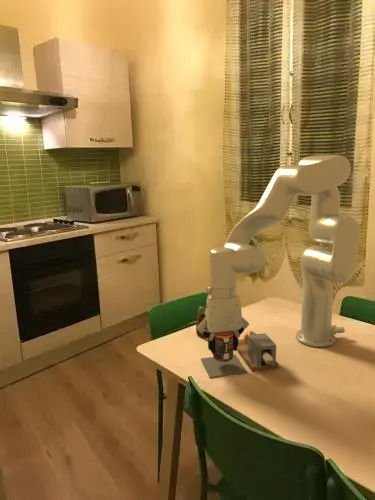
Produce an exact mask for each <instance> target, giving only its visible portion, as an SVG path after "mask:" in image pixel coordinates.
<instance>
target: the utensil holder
mask: <svg viewBox="0 0 375 500" xmlns="http://www.w3.org/2000/svg"><path fill="white" fill-rule="evenodd" d="M202 311H203V312H202ZM204 318H205V308H204V306H201V305H200V306H199V307H198V310H197V315H196V322H195V333H196V335H197V336H198V337H199V338H206V337H205V336H204V335H203V334H202V333H200V332H199V331H198V330H197V326H198V325H199V324H200V323H201V322H202V321H203V320H204ZM203 329H204V330H206V331H207V332H208V329H207V327H206V326H205V327H204V328H203ZM206 339H207V338H206Z"/></svg>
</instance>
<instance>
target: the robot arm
mask: <svg viewBox="0 0 375 500" xmlns="http://www.w3.org/2000/svg"><path fill="white" fill-rule="evenodd" d="M351 171H352V166H351V162H350V161H349V159H348V158H347V157H345V156H343V155H338V154H329V155H328V154H325V155H322V154H321V155H309V156H305V157H302V158H301V159H300V160H299V161H298V163H297V164H286V165H282V166H280V167H278V168H277V169H276V170H275V172H274V173H273V176H272V177H271V179H270V181H269V183H268V185H267V186H266V188H265V190H264V192H263V194H262V195H261V197H260V199H259V201H258V202H257V204H256V206H255V208H254V209H253V210H251V211H249V213H247V214H246V215H245V216H244V217H243V218H242V219H240V220H239V221H238V222H237V223H236V225H235V226H234V227H233V228H232V230H231V231H230V233H229V235H228V237H227V238H226V240H225V243H224V245H223V246H219V247H215V248H212V249H210V251H209V259H208V260H209V262H208V263H209V264H208V265H209V266H208V267H209V268H208V269H209V270H208V271H209V285H208V287H207V288H204V293H205V294H208V295H207V298H206V301H205V308H204V311H205V312H204V313H205V318H204V320H203V321H202V322H201V323H200V324H199V325H198V326H197V330H198V331H199V332H200V333H202V334H203V335H204V336H205V337H206V339H207V348H208V350H209V351H210V353H212V355H213V354H214V353H215V341H214V339H213V338H214V335H215V333H219V332H229V331H233V352H238V351H237V347H238V340H239V338H240V336H241V335H242V334H243V332H245V330H246V329H247V328H248V326H249V325H250V323H249V322H248V321H247V320H246V318H244V316H243V313H242V305H241V298H240V295H239V294H237V274H253V273H254V274H255V273H257V272H259V271H260V270H261V269H263V267H264V266H265V263H266V255H265V253H264V251H263V250H261V249H260V248H258V247H256V246H253V245H251V244H249V243H250V241H251V240H252V239H253V238H254V237H255V236H256V235H257V234H258V233H260V232H261V231H263V230H265V229H269V228H271V227H274V226H276V225H278V224H280V223H281V222H283V220H284V218H285V216H286V215H287V213H288V211H289V209H290V207H291V205H292V203H293V201H294V200H295V197H297V196H302V197H304V196H306V197H308V196H311V197H310V198H311V202H310V204H311V205H310V213H309V222H308V235H309V237H310V239H311V240H313V241H315V242H318V243H322V244H326V245H330V246H332V248H330V247H325V246H321V245H313V246H309V247H307V248H305V249H304V250H303V252H302V253H301V255H300V261H299V262H300V269H301V275H302V294H301V296H302V297H301V324H300V325H301V326H300V330H298V331H296V333H295V338H296V340H297V341H298V342H299V343H301V344H304V345H306V346H309V347H314V348H315V347H317V348H326V346H327V347H329V346H330V345H331V346H332V345H334V344H335V343H336V342H337V341H336V340H337V339H336V336H335V335H336V334H342V333H345V331H346V329H345V327H344V326H337V325H336V324H335V325H333V324H332V320H333V305H334V304H333V300H334V286H333V282H334V283H338V284H344V283H347V282H349V281H350V280H351V279H352V278H353V276H354V274H355V271H356V267H357V261H358V255H359V254H358V253H359V248H360V247H359V246H360V239H361V228H360V224H359V223H358V221H357V220H356V219H355V218H354V217H352V216H350V215H346V214H340V209H341V208H340V206H341V193H340V190H339V188H338V187H339V186H341V185H343V184H344V183H345V182H346V181H347V180H348V178H349V177H350V175H351ZM205 326H206V327H207V329H208V332H207V331H206V330H204V329H203V328H204V327H205Z"/></svg>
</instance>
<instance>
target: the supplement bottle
mask: <svg viewBox="0 0 375 500" xmlns="http://www.w3.org/2000/svg"><path fill="white" fill-rule="evenodd" d="M213 339H214V341H215V353H214V354H212V357H214V359H215V360H217V361H220V362H227V361H230V360H232V358H233V355H234V350H233V331H229V332H219V333H215V335H214V338H213Z"/></svg>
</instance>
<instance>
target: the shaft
mask: <svg viewBox="0 0 375 500" xmlns="http://www.w3.org/2000/svg"><path fill="white" fill-rule="evenodd" d="M255 334H257V333H256V332H255V331H252V330H251V331H248V332H246V333H245V334H244V336H243V339H244V341H245V343H246V344H247V345H248V335H255ZM261 358H262V359H263V360H264V362H265V363H266V364H267V365H270V364H272V363H273V358H272V357H271V355H270V354H269V353H268V352H267V351H266V350H261Z"/></svg>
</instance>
